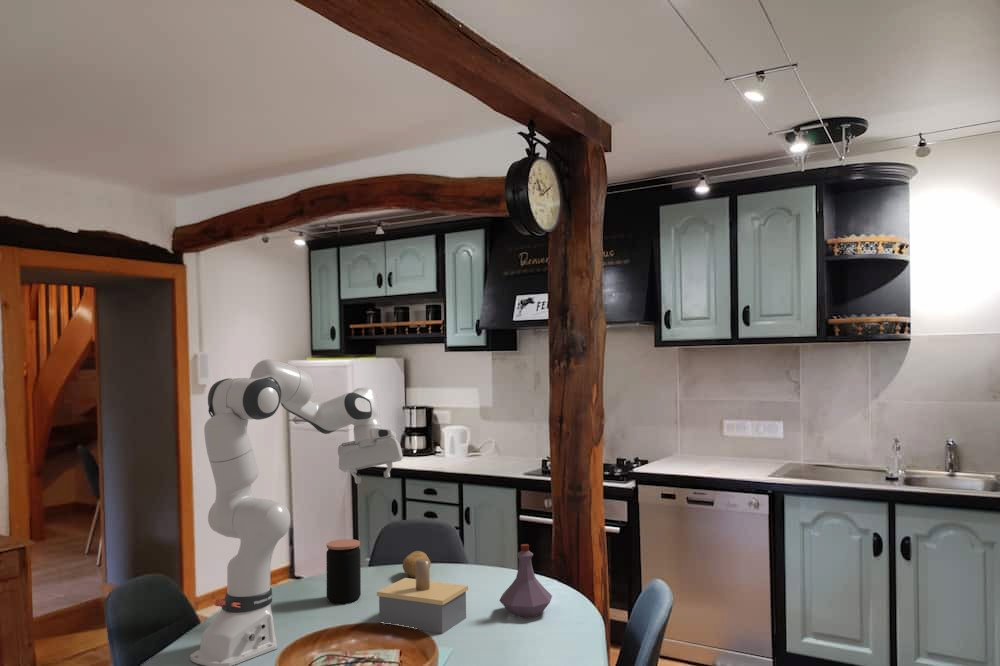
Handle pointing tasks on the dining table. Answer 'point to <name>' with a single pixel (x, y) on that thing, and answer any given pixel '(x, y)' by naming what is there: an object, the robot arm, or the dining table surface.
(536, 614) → the flask
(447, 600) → the lid
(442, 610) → the tub
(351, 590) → the coffee jar
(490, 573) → the dining table surface
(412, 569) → the potato
